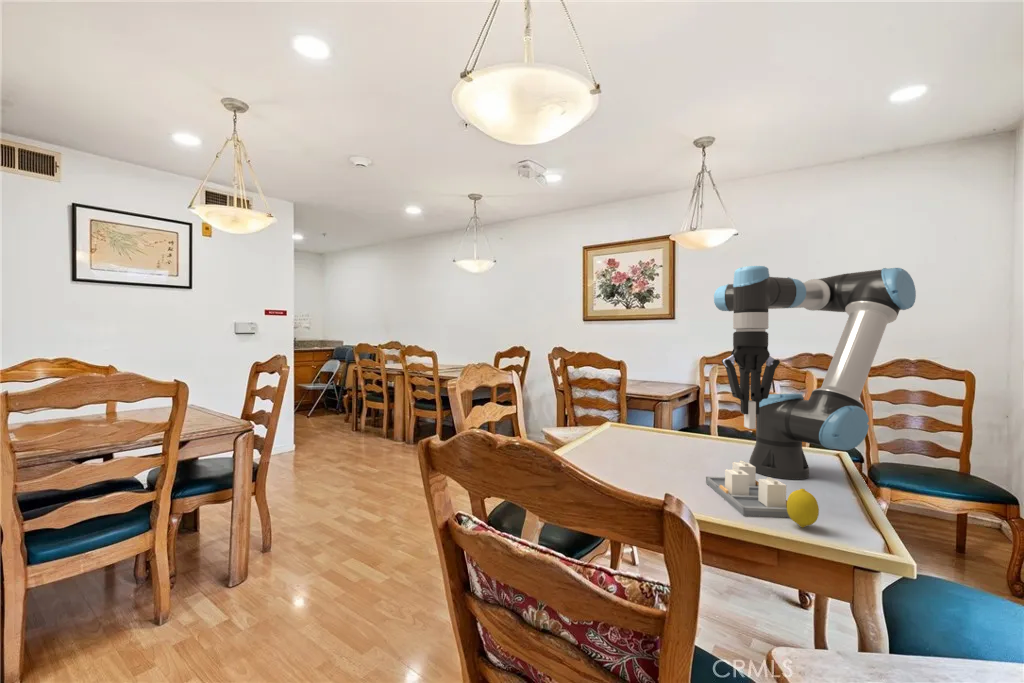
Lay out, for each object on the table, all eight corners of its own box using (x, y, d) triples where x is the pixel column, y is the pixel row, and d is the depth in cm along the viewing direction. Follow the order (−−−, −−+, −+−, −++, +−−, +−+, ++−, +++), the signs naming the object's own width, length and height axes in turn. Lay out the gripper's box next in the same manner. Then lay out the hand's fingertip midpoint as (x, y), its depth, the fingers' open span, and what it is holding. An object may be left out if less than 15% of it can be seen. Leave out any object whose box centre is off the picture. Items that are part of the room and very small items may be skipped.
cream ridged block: (741, 490, 108) (741, 467, 108) (749, 495, 104) (749, 472, 104) (724, 489, 109) (725, 467, 109) (731, 495, 105) (732, 471, 105)
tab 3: (776, 501, 101) (776, 476, 101) (785, 507, 97) (786, 482, 97) (758, 500, 101) (758, 476, 101) (767, 507, 97) (767, 481, 97)
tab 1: (748, 481, 115) (748, 460, 115) (755, 486, 111) (755, 464, 111) (732, 481, 115) (732, 459, 115) (739, 486, 111) (739, 464, 111)
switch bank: (748, 484, 117) (748, 475, 117) (795, 517, 95) (795, 506, 95) (705, 483, 118) (706, 473, 118) (743, 515, 96) (743, 504, 96)
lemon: (808, 535, 86) (809, 495, 86) (780, 524, 91) (781, 486, 91) (824, 530, 89) (825, 491, 89) (796, 520, 94) (796, 482, 94)
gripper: (770, 331, 110) (769, 425, 110) (716, 331, 110) (716, 424, 111) (787, 330, 102) (786, 431, 102) (729, 330, 103) (728, 430, 103)
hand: (749, 427), depth 106 cm, fingers closed
